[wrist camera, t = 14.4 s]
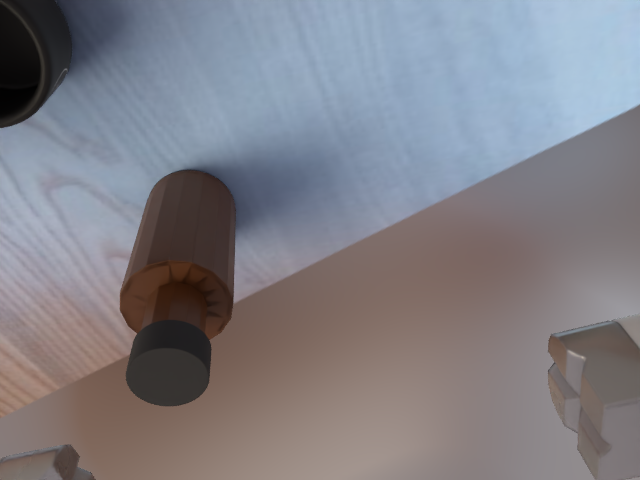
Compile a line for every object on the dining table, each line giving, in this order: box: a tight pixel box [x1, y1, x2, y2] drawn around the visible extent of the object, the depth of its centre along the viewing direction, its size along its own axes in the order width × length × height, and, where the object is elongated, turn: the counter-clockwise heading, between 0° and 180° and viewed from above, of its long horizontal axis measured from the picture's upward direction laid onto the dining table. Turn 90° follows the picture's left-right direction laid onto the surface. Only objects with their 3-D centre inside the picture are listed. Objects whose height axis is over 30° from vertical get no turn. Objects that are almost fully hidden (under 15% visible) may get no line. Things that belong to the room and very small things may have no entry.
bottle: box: [120, 170, 236, 340], centre depth 42 cm, size 7×7×17 cm
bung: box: [126, 320, 211, 406], centre depth 35 cm, size 5×5×4 cm
